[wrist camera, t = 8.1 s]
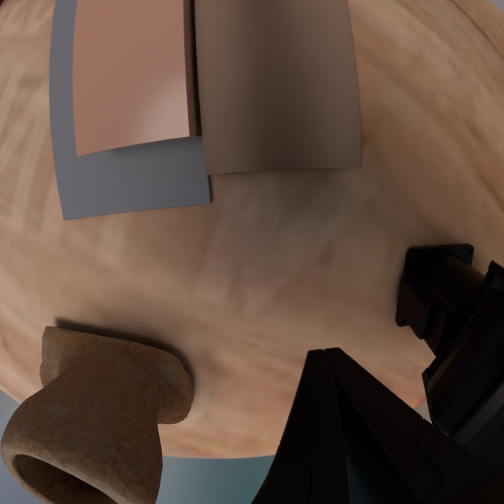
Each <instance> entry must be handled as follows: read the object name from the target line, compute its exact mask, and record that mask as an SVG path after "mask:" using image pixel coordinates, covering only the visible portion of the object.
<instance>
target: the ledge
mask: <svg viewBox="0 0 504 504" xmlns="http://www.w3.org/2000/svg"><path fill="white" fill-rule="evenodd" d="M195 27H196V49H197V68H198V85H199V100H200V114H201V127H202V139H203V151H204V162H205V173H206V175H213V174H225V173H237V172H252V171H269V170H290V169H327V168H362V149H361V121H360V104H359V90H358V78H357V68H356V59H355V50H354V42H353V35H352V28H351V22H350V15H349V10H348V4H347V0H195Z"/></svg>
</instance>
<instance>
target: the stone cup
mask: <svg viewBox="0 0 504 504" xmlns="http://www.w3.org/2000/svg"><path fill="white" fill-rule="evenodd" d="M42 360H43V362H42V364H41V366H40V378H41V382H42V385H43V387H44V388H43V389H41V390H40V391H38V392H37V393H35V394H34V395H32V396H30V397H29V398H28V399H26V400H25V401H24V402H23V403H22V404H21V405H20V406H19V407H18V408H17V410H16V411H15V412H14V413H13V415H12V417H11V418H10V420H9V422H8V424H7V426H6V429H5V431H4V434H3V437H2V440H1V455H2V459H3V462H4V464H5V466H6V467H7V469H8V471H9V472H10V474H11V475H12V476H13V477H14V479H15V480H16V481H17V482H18V483H19V484H20V485H22V487H23V488H25V489H26V490H27V491H28V492H29V493H30V494H32V495H33V496H34V497H36V498H37V499H38V500H40V501H42V502H43V503H45V504H155V503H156V500H157V496H158V492H159V487H160V481H161V474H162V467H163V462H162V449H161V443H160V437H159V432H158V424H175V423H179V422H181V421H183V420H184V419H185V418H186V417H187V415H188V413H189V411H190V409H191V405H192V401H193V386H192V380H191V378H190V376H189V375H188V373H187V372H186V371H185V370H184V369H183V365H182V362H181V361H180V360H179V359H178V358H177V357H175V356H174V355H172V354H171V353H169V352H167V351H164V350H161V349H158V348H155V347H152V346H148V345H145V344H141V343H137V342H133V341H128V340H123V339H117V338H111V337H106V336H100V335H95V334H90V333H84V332H78V331H73V330H68V329H63V328H59V327H51V326H46V328H45V330H44V334H43V337H42Z"/></svg>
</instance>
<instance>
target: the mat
mask: <svg viewBox="0 0 504 504" xmlns="http://www.w3.org/2000/svg"><path fill="white" fill-rule="evenodd" d="M76 7H77V0H56V2H55V9H54V16H53V25H52V35H51V49H50V74H49V94H50V120H51V135H52V146H53V155H54V163H55V171H56V178H57V185H58V191H59V197H60V202H61V208H62V213H63V218H64V220H71V219H78V218H85V217H92V216H100V215H108V214H116V213H124V212H133V211H141V210H150V209H160V208H170V207H180V206H191V205H203V204H210V203H211V202H212V201H211V191H210V180H209V175H206V173H205V162H204V151H203V139H202V137H196V138H188V139H180V140H172V141H165V142H158V143H152V144H146V145H140V146H134V147H128V148H123V149H118V150H113V151H107V152H101V153H95V154H89V155H83V156H78V157H77V151H76V141H75V129H74V113H73V42H74V28H75V17H76Z"/></svg>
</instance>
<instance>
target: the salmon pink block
mask: <svg viewBox="0 0 504 504" xmlns="http://www.w3.org/2000/svg"><path fill="white" fill-rule="evenodd" d="M73 113H74V129H75V141H76V151H77V157H78V156H83V155H89V154H95V153H101V152H107V151H113V150H118V149H123V148H128V147H134V146H140V145H146V144H152V143H158V142H165V141H172V140H180V139H188V138H196V137H202V127H201V114H200V100H199V85H198V68H197V49H196V27H195V0H77V7H76V17H75V28H74V42H73Z"/></svg>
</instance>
